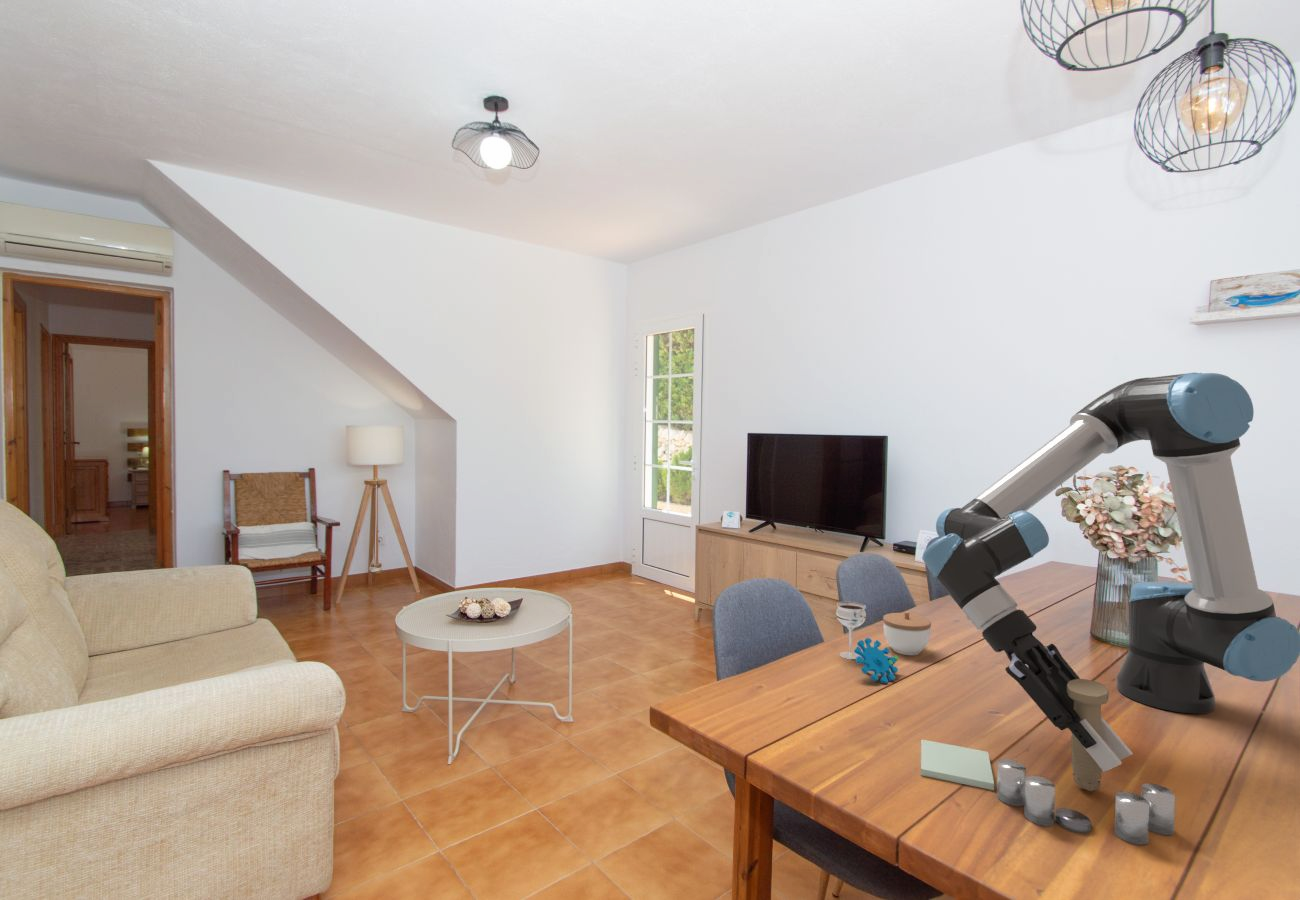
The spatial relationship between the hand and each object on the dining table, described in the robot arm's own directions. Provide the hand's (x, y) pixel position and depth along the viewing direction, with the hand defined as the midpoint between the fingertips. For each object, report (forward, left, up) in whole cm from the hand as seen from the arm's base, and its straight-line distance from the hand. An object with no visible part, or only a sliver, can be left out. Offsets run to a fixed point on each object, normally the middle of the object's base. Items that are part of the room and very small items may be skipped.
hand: (1118, 762), depth 89 cm
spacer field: (+5, +6, -6) cm, 10 cm away
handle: (+3, -2, -6) cm, 7 cm away
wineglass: (+41, -45, -6) cm, 61 cm away
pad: (+21, -1, -6) cm, 22 cm away
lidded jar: (+29, -54, -6) cm, 62 cm away
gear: (+35, -34, -6) cm, 49 cm away
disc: (+7, +8, -6) cm, 12 cm away
